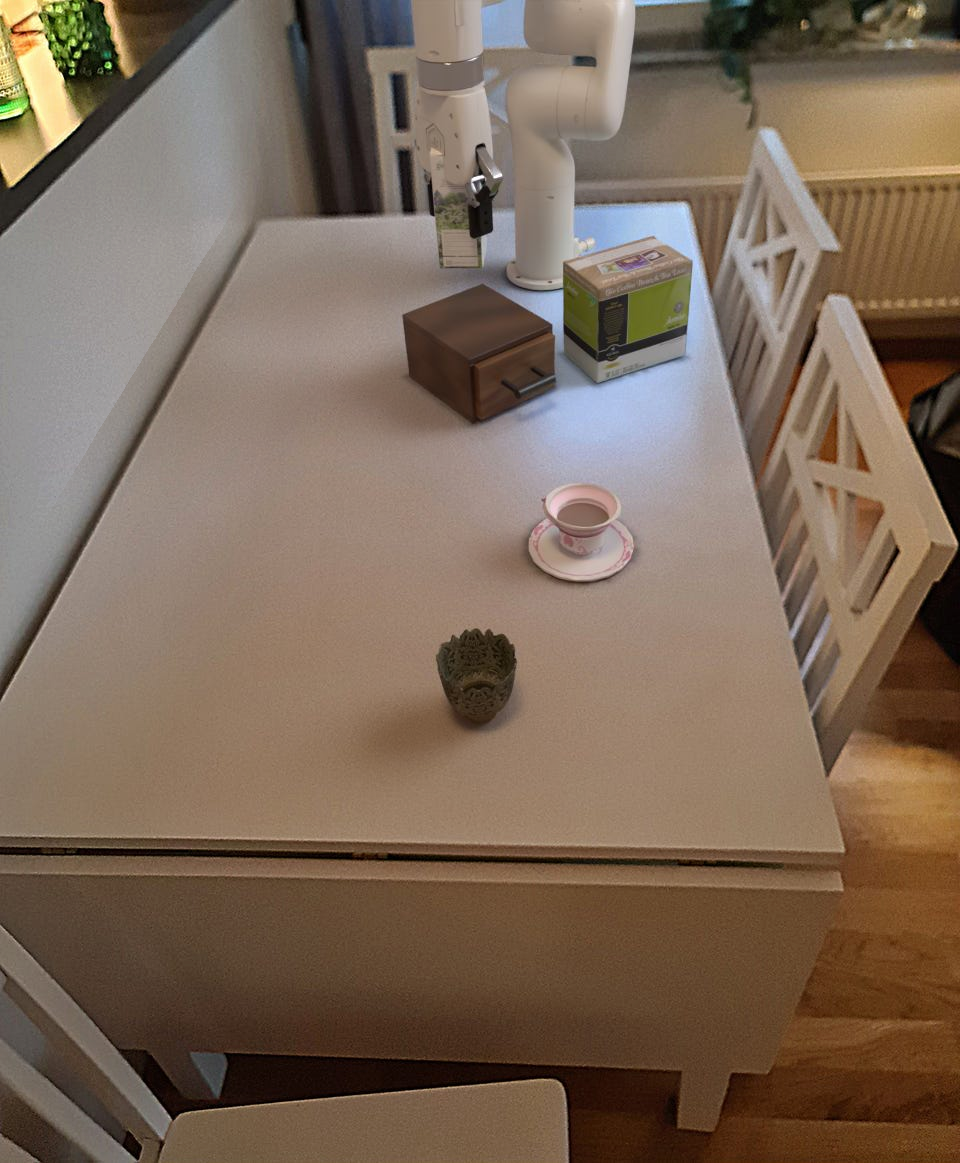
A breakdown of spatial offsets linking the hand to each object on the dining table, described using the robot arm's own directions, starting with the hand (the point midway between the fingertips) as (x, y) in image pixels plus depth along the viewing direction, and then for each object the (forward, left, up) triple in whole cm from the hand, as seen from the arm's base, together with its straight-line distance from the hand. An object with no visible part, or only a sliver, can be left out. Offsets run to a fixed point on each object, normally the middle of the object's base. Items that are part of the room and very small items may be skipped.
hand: (461, 223), depth 119 cm
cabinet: (-1, 0, -23) cm, 23 cm away
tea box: (-21, +8, -23) cm, 33 cm away
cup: (+34, +48, -23) cm, 63 cm away
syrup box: (0, 0, -5) cm, 5 cm away
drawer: (-1, +4, -22) cm, 23 cm away
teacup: (+11, +36, -23) cm, 45 cm away
